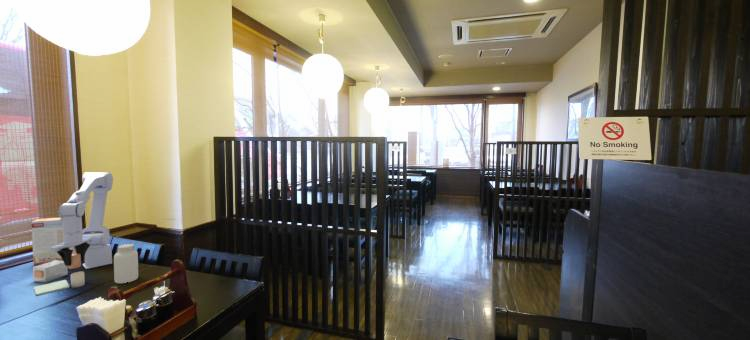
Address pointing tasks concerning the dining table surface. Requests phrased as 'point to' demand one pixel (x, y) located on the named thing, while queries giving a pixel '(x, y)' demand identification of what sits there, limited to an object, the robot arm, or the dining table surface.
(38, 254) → the cracker box
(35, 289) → the pad
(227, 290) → the dining table surface
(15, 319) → the dining table surface
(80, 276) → the ivory peg
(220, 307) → the dining table surface
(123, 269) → the pill bottle
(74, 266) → the terracotta peg
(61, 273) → the block
